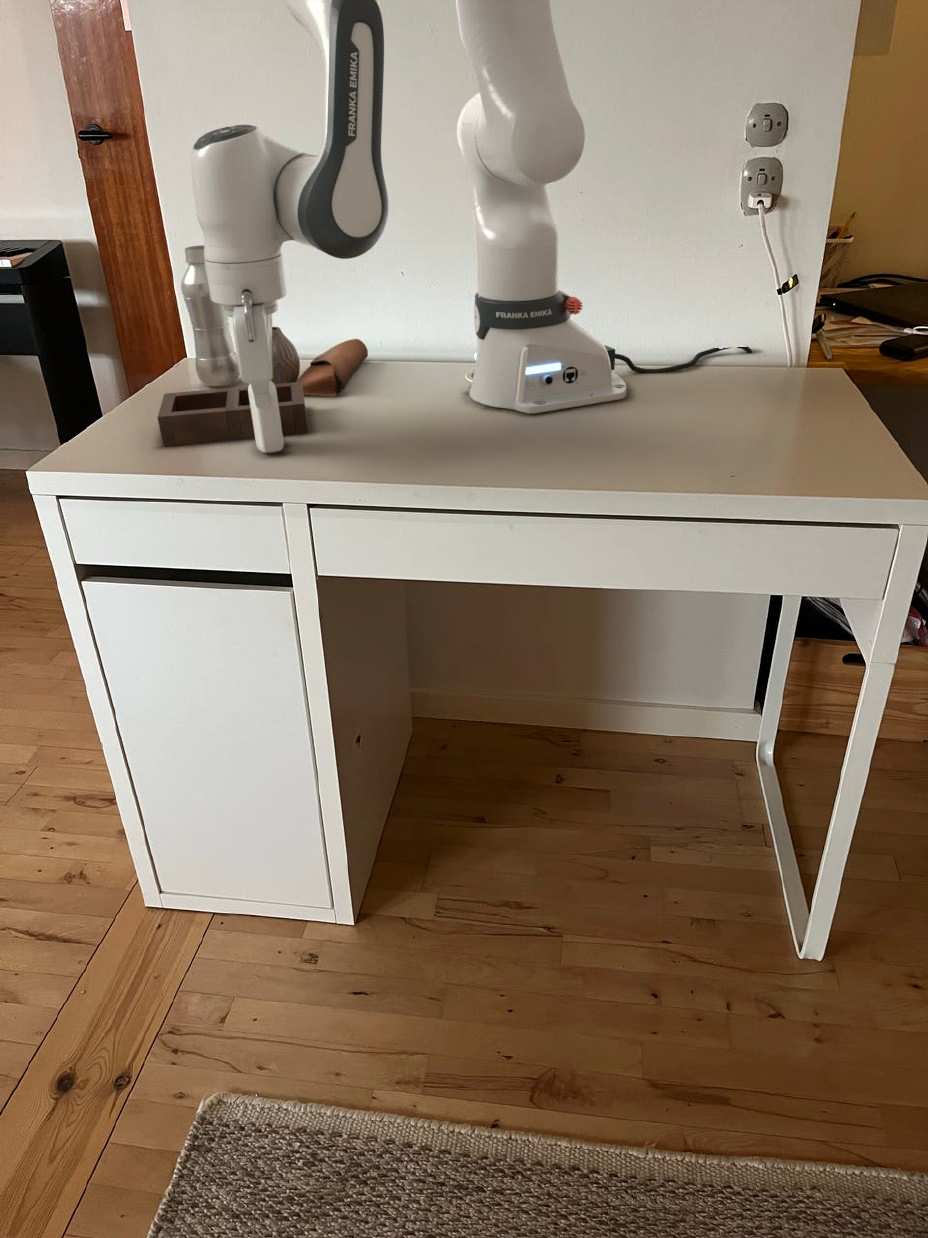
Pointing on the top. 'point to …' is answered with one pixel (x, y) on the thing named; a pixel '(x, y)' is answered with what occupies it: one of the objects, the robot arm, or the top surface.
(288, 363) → the vase
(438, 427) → the top surface
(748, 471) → the top surface
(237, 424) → the stand
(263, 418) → the eye dropper bottle
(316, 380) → the sunglasses case
